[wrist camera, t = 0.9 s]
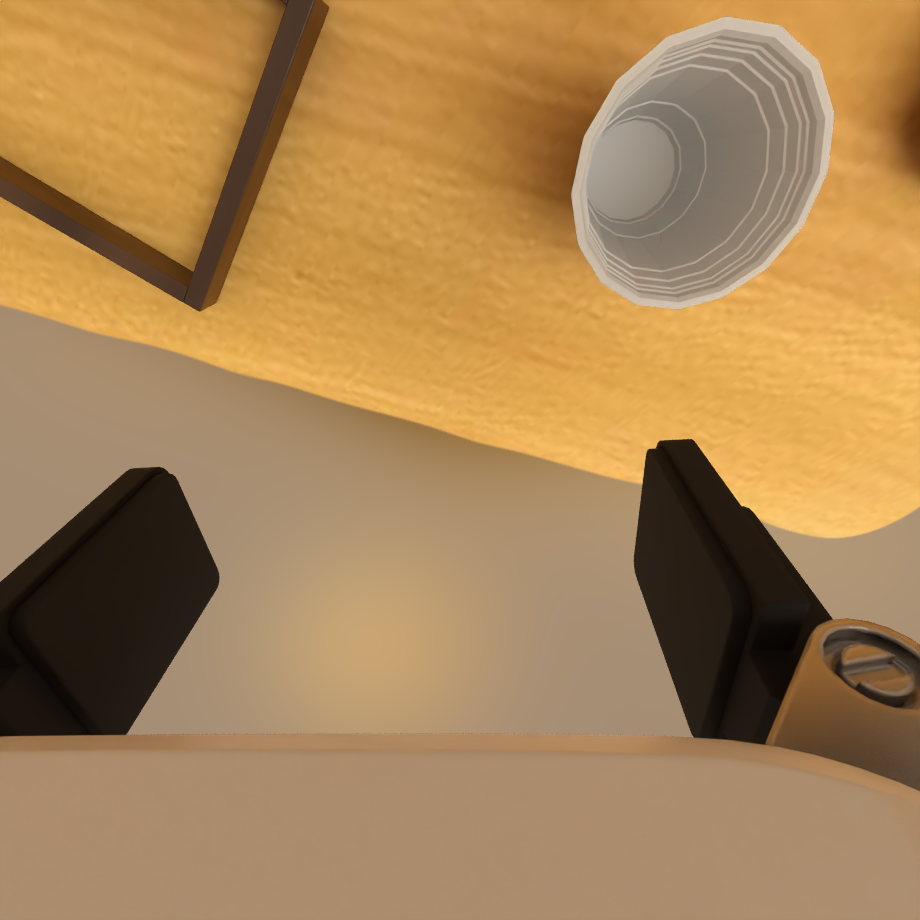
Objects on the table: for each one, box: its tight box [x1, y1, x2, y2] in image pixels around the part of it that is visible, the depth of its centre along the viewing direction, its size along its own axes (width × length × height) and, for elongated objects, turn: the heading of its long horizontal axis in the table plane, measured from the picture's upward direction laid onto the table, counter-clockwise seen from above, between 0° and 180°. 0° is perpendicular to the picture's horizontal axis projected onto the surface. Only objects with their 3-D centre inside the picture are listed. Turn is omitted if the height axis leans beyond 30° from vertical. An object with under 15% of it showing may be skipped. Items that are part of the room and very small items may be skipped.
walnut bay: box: [0, 0, 329, 311], centre depth 29 cm, size 18×19×2 cm
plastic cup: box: [571, 16, 834, 310], centre depth 26 cm, size 11×11×12 cm
